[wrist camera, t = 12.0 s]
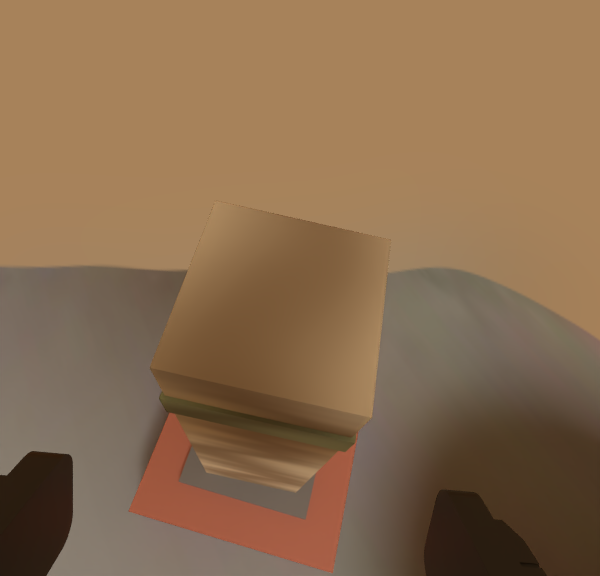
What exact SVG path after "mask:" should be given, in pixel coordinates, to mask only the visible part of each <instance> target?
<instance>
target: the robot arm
mask: <svg viewBox="0 0 600 576" xmlns="http://www.w3.org/2000/svg"><path fill="white" fill-rule="evenodd" d="M72 517H73V461H72V457H71V456H70V455H69V454H59V453H48V452H37V451H32V452H29V453H28V454H27V455H26V456H25V457H24V458H23V459H22V460H21V461H20V462H19V463H18V464H17V465H16V466H15V467H14V469H13V470H12V471H11V472H10V473H9V474H8V475H7V476H5V475H0V576H46V575H47V574H48V572H49V570H50V569H51V567H52V565H53V564H54V562H55V560H56V559H57V557H58V555H59V554H60V552H61V550H62V548H63V547H64V544H65V542H66V540H67V537H68V534H69V531H70V528H71V523H72ZM424 562H425V570H426V575H427V576H546V574H545V572H544V571H543V569H542V568H539V563H538V562H537V560H536V558H535V557H534V555H533V554H532V552H531V551H530V549H529V548H528V546H527V545H526V543H525V541H524V540H523V539H522V538H521V537H520V536H518V535H517V534H516V533H515V532H514V531H513V530H512V529H511V528H510V527H509V526H508V525H507V524H506V523H504V522H503V521H502V520H494V519H493V517H492V516H491V514H490V512H489V511H488V509H487V507H486V506H485V504H484V502H483V501H482V499H481V498H480V496H479V495H478V494H477V493H474V492H464V491H453V490H441V491H440V492H439V493H438V495H437V498H436V502H435V506H434V510H433V515H432V519H431V523H430V527H429V531H428V535H427V539H426V543H425V550H424Z"/></svg>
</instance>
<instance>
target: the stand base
mask: <svg viewBox="0 0 600 576" xmlns="http://www.w3.org/2000/svg"><path fill="white" fill-rule="evenodd" d="M357 436H358V432H357V433H356V441H355V444H354V445H353V446H351V447H350V448H349V449H348V450H347V451H346V452H342V451H338V452H337V453H336V454H335V455H334V456H333V457H332V458H331V459H330V460H329V461H328V462H327V463H326V464H324V465H323V466H322V467H321V468H320V469H319V470H318V471H317V472H316V473H315V474H314V475H313V476H312V477H311V478H310V479H309V480H308V481H307V482H306V483H305V484H304V485H303V486H302V487H301V488H300V489H299V490H298V491H297V492H296V493H294V492H290V491H286V490H281V489H277V488H272V487H268V486H263V485H259V484H255V483H250V482H246V481H241V480H237V479H233V478H228V477H224V476H219V475H215V474H211V473H206V471H205V469H204V467H203V465H202V463H201V461H200V460H199V458H198V456H197V454H196V452H195V450H194V449H193V447H192V445H191V443H190V441H189V439H188V438H187V436H186V434H185V432H184V430H183V428H182V426H181V425H180V423H179V421H178V419H177V417H176V415H175V414H174V413H169V415H168V417H167V420H166V422H165V425H164V427H163V429H162V432H161V434H160V437H159V439H158V441H157V444H156V446H155V449H154V451H153V454H152V456H151V458H150V461H149V463H148V466H147V468H146V470H145V473H144V475H143V478H142V480H141V482H140V485H139V487H138V490H137V492H136V495H135V497H134V499H133V502H132V504H131V507H130V509H129V512H132V513H136V514H139V515H142V516H146V517H149V518H152V519H156V520H159V521H162V522H165V523H169V524H172V525H175V526H179V527H182V528H185V529H189V530H192V531H195V532H199V533H202V534H205V535H208V536H212V537H215V538H218V539H222V540H225V541H228V542H232V543H235V544H238V545H241V546H245V547H248V548H251V549H255V550H258V551H261V552H265V553H268V554H271V555H274V556H278V557H281V558H284V559H288V560H291V561H294V562H298V563H301V564H304V565H308V566H311V567H314V568H317V569H321V570H324V571H327V572H331V573H333V568H334V562H335V557H336V551H337V546H338V541H339V535H340V530H341V524H342V519H343V513H344V508H345V502H346V497H347V491H348V486H349V480H350V475H351V469H352V464H353V458H354V453H355V447H356V442H357Z"/></svg>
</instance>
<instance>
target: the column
mask: <svg viewBox="0 0 600 576" xmlns="http://www.w3.org/2000/svg"><path fill="white" fill-rule="evenodd" d="M390 244H391V240H390V239H385V238H381V237H376V236H372V235H367V234H363V233H359V232H354V231H349V230H345V229H341V228H336V227H331V226H327V225H323V224H318V223H314V222H309V221H305V220H300V219H295V218H291V217H287V216H283V215H278V214H274V213H269V212H264V211H260V210H255V209H251V208H247V207H242V206H238V205H234V204H229V203H224V202H220V201H215V203H214V206H213V209H212V211H211V213H210V216H209V218H208V221H207V223H206V226H205V229H204V231H203V234H202V236H201V239H200V241H199V244H198V246H197V249H196V251H195V254H194V257H193V259H192V261H191V264H190V267H189V269H188V272H187V274H186V277H185V279H184V282H183V284H182V287H181V289H180V292H179V294H178V297H177V300H176V302H175V305H174V307H173V310H172V312H171V315H170V317H169V320H168V322H167V325H166V327H165V330H164V333H163V335H162V338H161V340H160V343H159V345H158V348H157V350H156V353H155V355H154V358H153V360H152V363H151V366H150V369H151V371H152V373H153V375H154V377H155V379H156V380H157V382H158V384H159V386H160V388H161V390H162V392H161V395H160V398H159V399H160V401H161V403H162V404H163V406H164V408H165V410H166V411H167V412H170V413H174V414H175V415H176V417H177V419H178V421H179V423H180V425H181V426H182V428H183V430H184V432H185V434H186V436H187V438H188V439H189V441H190V443H191V445H192V447H193V449H194V450H195V452H196V454H197V456H198V458H199V460H200V461H201V463H202V465H203V467H204V469H205V471H206V473H211V474H215V475H219V476H224V477H228V478H233V479H237V480H241V481H246V482H250V483H255V484H259V485H263V486H268V487H272V488H277V489H281V490H286V491H290V492H294V493H296V492H297V491H298V490H299V489H300V488H301V487H302V486H303V485H304V484H305V483H306V482H307V481H308V480H309V479H310V478H311V477H312V476H313V475H314V474H315V473H316V472H317V471H318V470H319V469H320V468H321V467H322V466H323V465H324V464H326V463H327V462H328V461H329V460H330V459H331V458H332V457H333V456H334V455H335V454H336V453H337V452H338V451H342V452H346V451H347V450H348V449H349V448H350V447H351V446H353V445H354V444H355V441H356V433H357V432H358V431H359V430H360V429H361V428H362V427H363V426H364V425H365V424H366V423H367V422H368V421H369V420H370V419H371V418H372V412H373V402H374V393H375V384H376V375H377V365H378V356H379V347H380V337H381V328H382V319H383V310H384V300H385V291H386V282H387V272H388V263H389V253H390Z"/></svg>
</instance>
